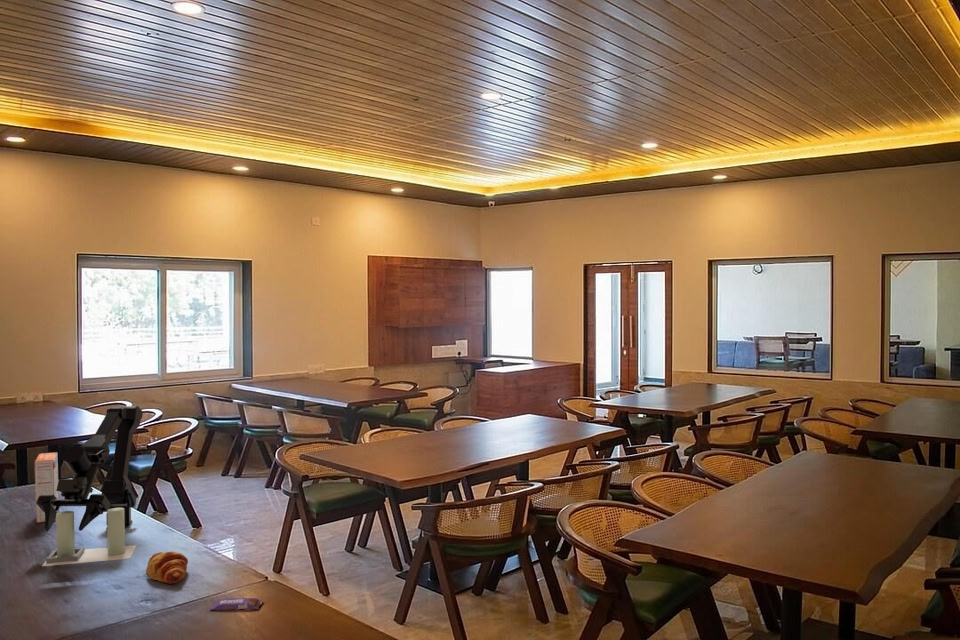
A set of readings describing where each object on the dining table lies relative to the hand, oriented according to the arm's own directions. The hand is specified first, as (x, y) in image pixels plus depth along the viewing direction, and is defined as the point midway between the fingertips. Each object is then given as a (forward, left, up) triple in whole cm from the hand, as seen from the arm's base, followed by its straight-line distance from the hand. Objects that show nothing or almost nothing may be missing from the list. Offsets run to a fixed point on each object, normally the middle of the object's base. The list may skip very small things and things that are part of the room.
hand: (63, 530), depth 206 cm
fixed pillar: (-13, -1, -8) cm, 16 cm away
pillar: (0, -1, -8) cm, 8 cm away
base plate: (-7, -1, -9) cm, 11 cm away
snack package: (-48, +46, -10) cm, 67 cm away
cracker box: (+17, -51, -9) cm, 55 cm away
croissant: (-29, +18, -9) cm, 36 cm away
